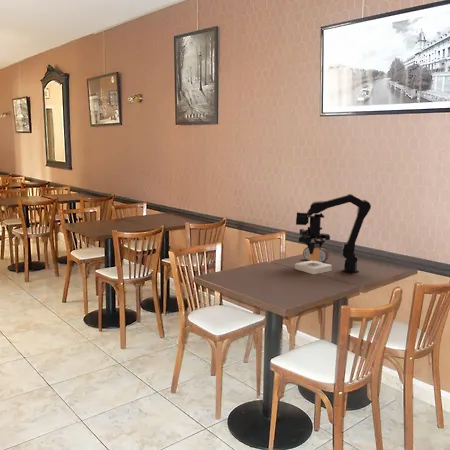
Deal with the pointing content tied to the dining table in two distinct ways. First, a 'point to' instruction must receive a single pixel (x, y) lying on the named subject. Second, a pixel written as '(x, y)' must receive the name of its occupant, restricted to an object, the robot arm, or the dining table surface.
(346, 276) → the dining table surface
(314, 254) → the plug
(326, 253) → the tin
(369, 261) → the dining table surface
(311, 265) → the socket block
